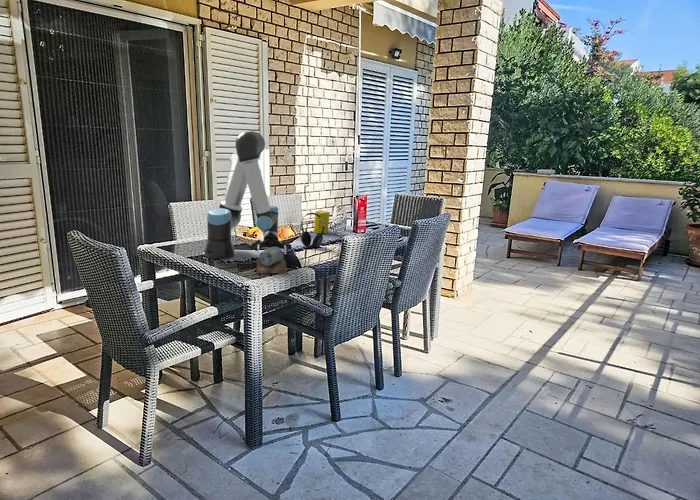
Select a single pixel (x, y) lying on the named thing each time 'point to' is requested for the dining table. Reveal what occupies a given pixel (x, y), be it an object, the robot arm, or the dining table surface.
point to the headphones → (307, 238)
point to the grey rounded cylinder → (271, 256)
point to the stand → (272, 267)
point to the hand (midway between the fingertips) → (272, 251)
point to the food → (319, 223)
